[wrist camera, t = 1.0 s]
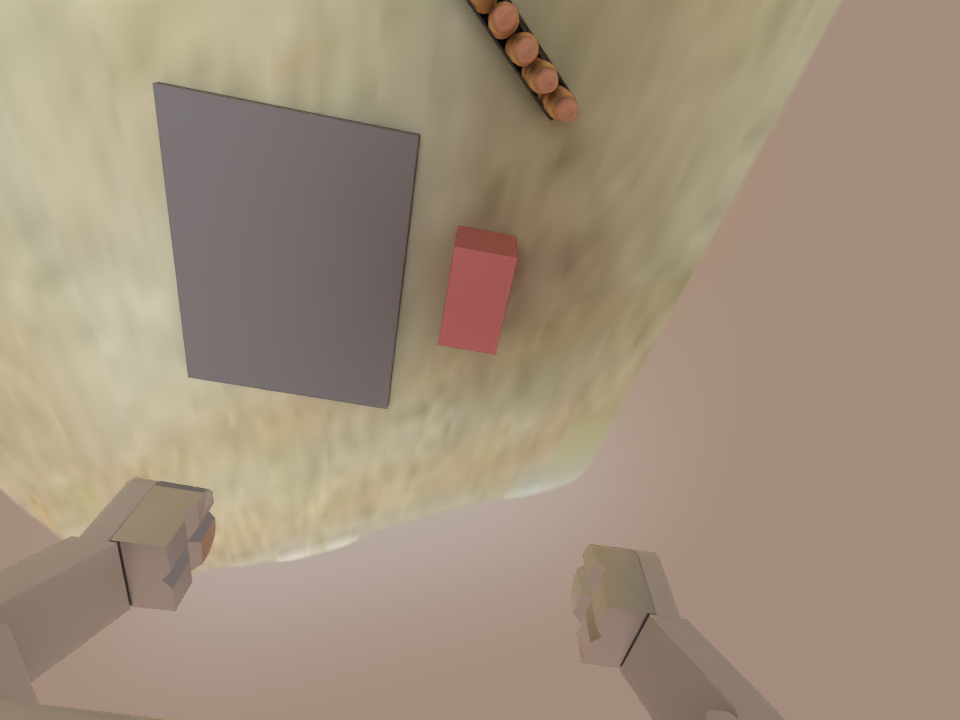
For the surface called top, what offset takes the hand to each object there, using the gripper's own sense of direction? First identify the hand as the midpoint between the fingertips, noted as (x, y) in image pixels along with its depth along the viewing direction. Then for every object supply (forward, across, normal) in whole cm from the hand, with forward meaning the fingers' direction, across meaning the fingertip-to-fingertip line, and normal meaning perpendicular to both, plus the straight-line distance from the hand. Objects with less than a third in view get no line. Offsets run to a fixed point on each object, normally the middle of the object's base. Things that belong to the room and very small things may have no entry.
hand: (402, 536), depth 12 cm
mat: (+33, +13, +8) cm, 36 cm away
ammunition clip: (+32, -1, -11) cm, 34 cm away
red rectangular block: (+33, -2, +6) cm, 34 cm away
